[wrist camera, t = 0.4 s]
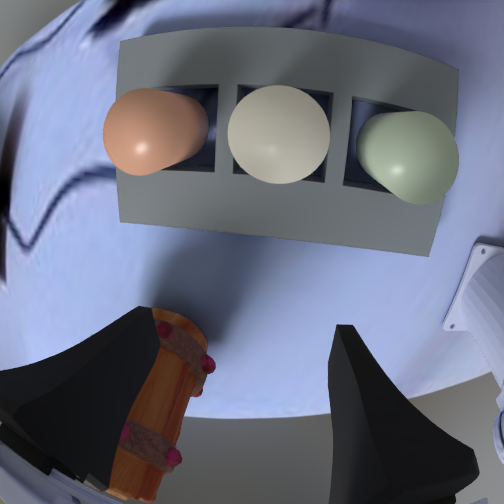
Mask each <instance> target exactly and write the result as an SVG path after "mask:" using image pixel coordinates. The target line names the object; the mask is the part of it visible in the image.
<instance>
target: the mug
mask: <svg viewBox="0 0 504 504" xmlns="http://www.w3.org/2000/svg"><path fill="white" fill-rule="evenodd" d="M152 312H153V317H154V321H155V325H156V329H157V333H158V336H159V340H160V344H161V346H160V349H159V352H158V355H157V357H156V360H155V363H154V365H153V367H152V369H151V371H150V373H149V375H148V377H147V379H146V381H145V383H144V384H143V386H142V388H141V390H140V392H139V394H138V396H137V398H136V400H135V401H134V403H133V405H132V407H131V410H130V412H129V414H128V417H127V420H126V422H125V425H124V428H123V431H122V434H121V437H120V440H119V444H118V447H117V451H116V455H115V459H114V463H113V467H112V473H111V478H110V485H109V489H108V490H106V492H108V493H110V494H113V495H114V496H117V497H120V498H122V499H124V500H128V499H129V498H133V499H137V500H138V499H139V500H142V501H144V502H147V503H152V502H153V501H154V500H155V499H156V494H157V490H158V488H159V485H160V483H161V480H162V477H163V475H164V474H170V473H171V472H172V471H173V469H174V466H177V465H178V464H180V463H181V462H182V457H181V454H180V452H179V450H177V449H176V447H175V445H176V442H177V440H178V437H179V434H180V429H181V424H182V419H183V417H184V414H185V411H186V408H187V405H188V402H189V399H190V397H192V396H193V397H199V396H200V395H201V394H202V392H203V385H204V383H205V380H206V378H207V375H208V374H210V373H213V372H214V370H215V368H216V364H215V362H214V360H213V359H212V358H211V357H210V356H208V355H207V354H206V352H207V348H208V342H207V339H206V337H205V336H204V334H203V333H202V331H201V330H200V329H199V327H198V326H197V325H196V324H195V323H193V322H192V321H191V320H189V319H187V318H186V317H184V316H182V315H180V314H179V313H176V312H171V311H169V310H166V309H162V308H159V307H154V308H152Z"/></svg>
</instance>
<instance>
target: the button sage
mask: <svg viewBox="0 0 504 504" xmlns="http://www.w3.org/2000/svg"><path fill="white" fill-rule="evenodd" d="M356 152H357V157H358V160H359V162H360V164H361V166H362V167H363V169H364V170H365V171H366V173H368V174H369V175H370V176H371V177H372V178H374V179H375V180H376V181H378V182H379V183H380V184H382V185H383V186H384V187H386V188H387V189H388V190H389V191H391V192H392V193H393V194H395V195H396V196H397V197H398V198H400V199H402V200H403V201H406V202H408V203H412V204H418V205H419V204H428V203H431V202H434V201H436V200H438V199H440V198H441V197H442V196H443V195H445V194H446V193H447V191H448V190H449V189H450V188H451V186H452V184H453V182H454V180H455V178H456V175H457V171H458V165H459V155H458V149H457V145H456V142H455V139H454V137H453V135H452V133H451V132H450V130H449V129H448V127H447V126H446V125H445V124H444V123H443V122H442V121H441V120H439V119H438V118H437V117H435V116H433V115H431V114H429V113H425V112H420V111H409V112H392V113H381V114H377V115H375V116H373V117H371V118H369V119H368V120H367V121H366V122H365V123H364V124H363V125H362V127H361V128H360V130H359V133H358V136H357V140H356Z"/></svg>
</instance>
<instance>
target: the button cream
mask: <svg viewBox="0 0 504 504" xmlns="http://www.w3.org/2000/svg"><path fill="white" fill-rule="evenodd" d="M228 143H229V147H230V150H231V152H232V155H233V157H234V158H235V160H236V161H237V163H238V164H239V165H240V167H242V168H243V169H244V170H245V171H246V172H247V173H248V174H250V175H251V176H253V177H255V178H257V179H259V180H261V181H264V182H268V183H274V184H286V183H292V182H296V181H298V180H301V179H303V178H305V177H307V176H308V175H310V174H311V173H312V172H314V171H315V170H316V169H317V168H318V167H319V165H320V164H321V163H322V161H323V160H324V158H325V156H326V154H327V151H328V148H329V143H330V127H329V123H328V120H327V117H326V115H325V113H324V111H323V109H322V108H321V107H320V105H319V104H318V103H317V102H316V101H315V100H314V99H313V98H312V97H311V96H309V95H308V94H306V93H305V92H303V91H301V90H299V89H296V88H293V87H289V86H283V85H273V86H267V87H263V88H260V89H257V90H255V91H253V92H251V93H250V94H248V95H247V96H246V97H244V98H243V99H242V100H241V101H240V102H239V103H238V105H237V106H236V107H235V109H234V111H233V113H232V115H231V117H230V121H229V124H228Z"/></svg>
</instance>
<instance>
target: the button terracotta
mask: <svg viewBox="0 0 504 504" xmlns="http://www.w3.org/2000/svg"><path fill="white" fill-rule="evenodd" d="M208 133H209V120H208V116H207V113H206V111H205V109H204V108H203V106H202V105H201V104H200V103H199V102H198V101H197V100H195V99H194V98H192V97H190V96H187V95H183V94H178V93H173V92H168V91H162V90H156V89H150V88H138V89H134V90H131V91H129V92H127V93H125V94H124V95H122V96H121V97H120V98H118V99H117V100H116V101H115V103H114V104H113V105H112V107H111V108H110V110H109V112H108V114H107V116H106V119H105V122H104V128H103V141H104V146H105V149H106V152H107V154H108V156H109V158H110V160H111V161H112V162H113V163H114V164H115V165H116V166H117V167H118V168H119V169H120V170H122V171H124V172H125V173H128V174H131V175H137V176H142V175H148V174H151V173H154V172H157V171H159V170H161V169H164V168H166V167H169V166H171V165H174V164H176V163H179V162H181V161H184V160H186V159H189V158H191V157H192V156H194V155H195V154H196V153H198V152H199V151H200V149H201V148H202V147H203V145H204V144H205V142H206V139H207V137H208Z"/></svg>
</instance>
